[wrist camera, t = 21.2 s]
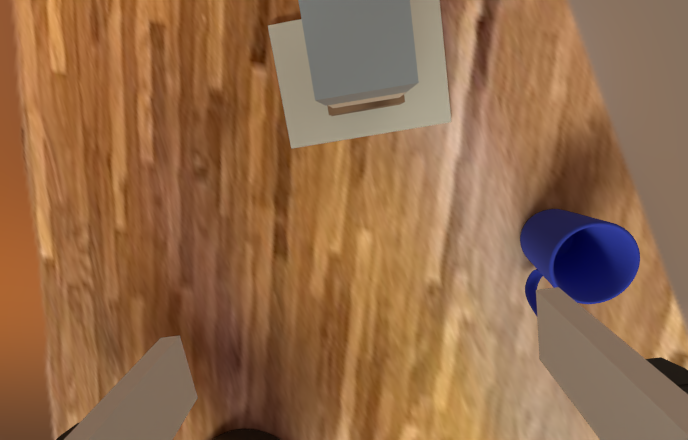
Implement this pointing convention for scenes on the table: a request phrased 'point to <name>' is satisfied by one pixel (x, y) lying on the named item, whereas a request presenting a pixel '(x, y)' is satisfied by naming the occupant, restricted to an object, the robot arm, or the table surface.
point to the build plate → (319, 127)
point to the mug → (578, 256)
